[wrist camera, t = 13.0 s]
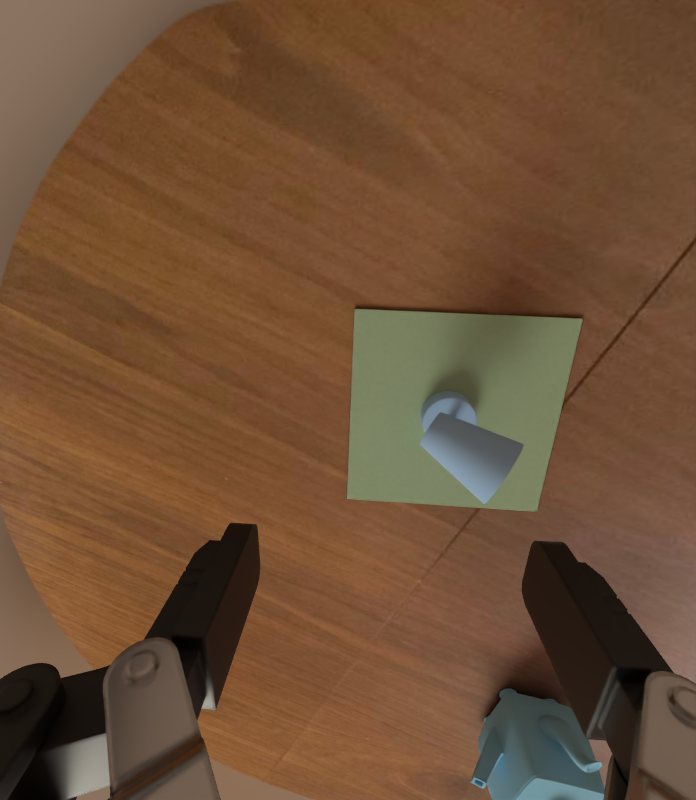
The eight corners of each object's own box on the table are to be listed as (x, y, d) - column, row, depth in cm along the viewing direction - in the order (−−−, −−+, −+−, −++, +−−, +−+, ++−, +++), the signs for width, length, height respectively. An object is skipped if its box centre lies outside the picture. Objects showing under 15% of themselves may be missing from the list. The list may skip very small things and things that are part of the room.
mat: (354, 308, 31) (354, 308, 31) (581, 318, 30) (583, 318, 30) (347, 497, 37) (347, 498, 37) (536, 510, 36) (536, 511, 36)
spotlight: (500, 410, 33) (429, 376, 32) (551, 468, 23) (453, 421, 23) (470, 455, 34) (402, 424, 34) (507, 527, 25) (413, 485, 24)
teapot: (538, 767, 48) (578, 890, 39) (433, 741, 48) (447, 858, 39) (606, 674, 42) (673, 792, 33) (486, 644, 42) (519, 754, 32)
